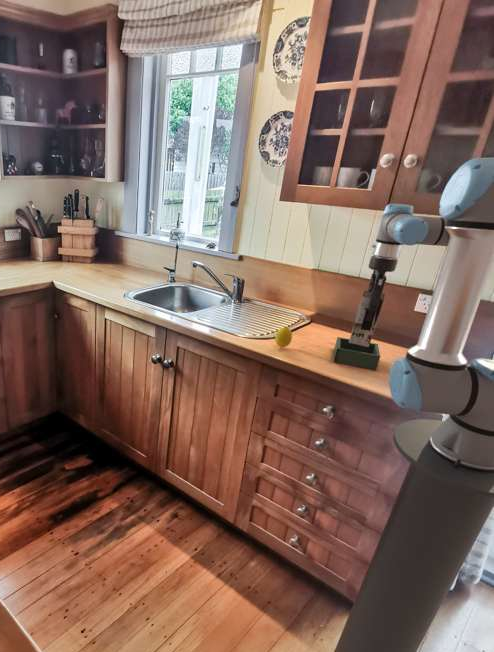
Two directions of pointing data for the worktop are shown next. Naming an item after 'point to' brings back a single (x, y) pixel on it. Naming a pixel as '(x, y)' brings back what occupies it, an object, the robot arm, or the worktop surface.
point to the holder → (356, 354)
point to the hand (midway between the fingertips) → (364, 325)
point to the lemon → (283, 337)
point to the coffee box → (357, 333)
